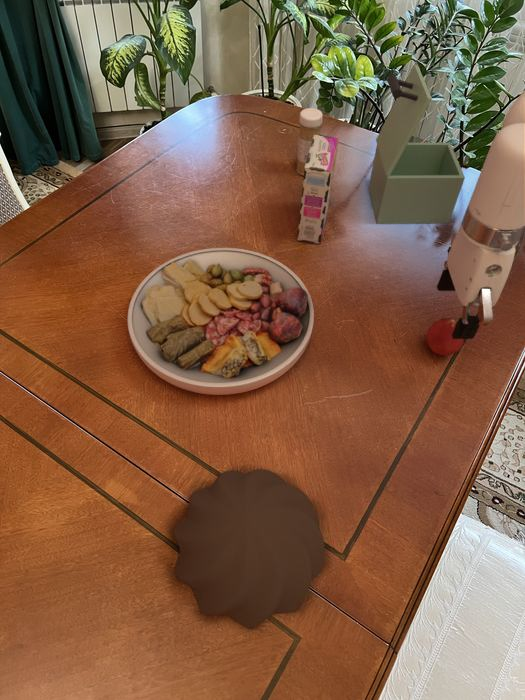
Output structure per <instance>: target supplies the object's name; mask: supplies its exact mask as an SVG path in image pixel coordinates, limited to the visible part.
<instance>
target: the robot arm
mask: <svg viewBox="0 0 525 700" xmlns="http://www.w3.org/2000/svg"><path fill="white" fill-rule="evenodd" d="M524 231H525V89H524V90H523V91H522V92H521V93H520V95H519V96H518V97H517V98H516V100H515V101H514V102H513V103H512V104H511V106H510V108H509V109H508V111H507V113H506V114H505V116H504V118H503V121H502V124H501V129H500V130H499V131H498V132H497V133H496V135H495V136H494V138H493V140H492V142H491V144H490V147H489V150H488V152H487V155H486V157H485V160H484V163H483V166H482V168H481V170H480V174H479V176H478V178H477V181H476V183H475V186H474V189H473V191H472V194H471V197H470V200H469V202H468V205H467V208H466V210H465V213H464V215H463V217H462V220H461V223H460V226H459V228H458V230H457V232H452V233H451V237H450V243H449V244H450V246H449V247H448V249H447V250H446V251H447V259H446V260H445V261H444V262H443V269H442V271H441V275H440V276H439V280H438V283H437V285H436V289H437V291H439V292H455V293H456V296H457V298H458V301H459V303H460V304H461V305H462V317H459V318H458V320H457V324H456V326H455V329H454V331H453V333H452V338H453V339H464V340H472V339H474V338H475V336H476V335H477V332H478V331H479V329H480V327H481V326H487V325H489V324H490V323H492V322H493V320H494V312H493V307H494V306H496V304H497V303H498V301H499V299H500V297H501V294H502V292H503V290H504V287H505V285H506V283H507V280H508V278H509V276H510V272H511V270H512V266H513V263H514V260H515V255H516V246H517V245H518V244H519V242H520V240H521V238H522V236H523V233H524ZM476 299H478V300H476ZM471 307H478V308H477V309H478V310H477V311H478V312H477V315H476V314H475V315H471Z"/></svg>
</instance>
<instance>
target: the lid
mask: <svg viewBox="0 0 525 700" xmlns="http://www.w3.org/2000/svg"><path fill="white" fill-rule="evenodd" d="M387 83H388V87H389V88H390V93H391V95H392V98H394V99H395V101H394V103H393V105H392V107H391V109H390V111H389V113H388V115H387V117H386V119H385V121H384V123H383V125H382V127H381V129H380V131H379V133H378V135H377V137H376V139H375V142H376V146H377V145H378V149H379V153H380V156H381V160H382V163H383V167H384V171H385V174H386V175H387V176H390V174H391V173H392V171H393V169H394V167H395V165H396V163H397V162H398V160H399V158H400V156H401V154H402V153H403V151H404V149H405V147H406V145H407V144H408V143H410V142H409V141H410V140H411V138H412V136H413V134H414V133H415V131H416V129H417V127H418V125H419V123H420V122H421V120H422V118H423V116H424V115H425V113H426V111H427V109H428V107H429V105H430V104H431V102H432V100H433V98H432V95H431V93H430V90H429V88H428V86H427V83H426V81H425V79H424V76H423V74H422V72H421V69H420V67H419V65H418V64H416V63H413V66H412V67H411V69H410V71H409V73H408V75H407V77H406V79H405V80H401V79H398V76H397V75H396V74H390V75H389V76H388V78H387Z"/></svg>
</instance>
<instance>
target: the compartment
mask: <svg viewBox="0 0 525 700" xmlns="http://www.w3.org/2000/svg"><path fill="white" fill-rule="evenodd" d="M458 160H459V159H458V157H457V155H456V153H455V151H454V148H453V146H452V144H451V142H408V144H407V145H406V147H405V149H404V151H403V153H402V154H401V156H400V158H399V160H398V162H397V163H396V165H395V167H394V169H393V171H392V173H391V174H390V176H387V175H386V174H385V171H384V167H383V163H382V160H381V156H380V153H379V149H378V145H377V144H376V148H375V152H374V156H373V161H372V166H371V167H372V168H371V172H370V178H369V182H368V186H367V187H368V194H369V198H370V202H371V206H372V211H373V215H374V218H375V223H376V225H411V224H412V225H418V224H419V225H425V224H428V225H429V224H430V225H431V224H432V225H433V224H437V223H438V224H439V223H441V225H444V224H445V225H446V224H450V222H451V219H452V215H453V214H454V210H455V207H456V205H457V201H458V199H459V196H460V193H461V190H462V187H463V184H464V181H465V179H466V177H465V175H464V172H463V170H462V168H461V165H460V162H459V161H458Z"/></svg>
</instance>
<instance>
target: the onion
mask: <svg viewBox="0 0 525 700" xmlns="http://www.w3.org/2000/svg"><path fill="white" fill-rule="evenodd" d="M457 322H458V320H456V319H454V318H451V317H443V318H440V319H438V320H435V321H433V323H432V324H430V326H429V327H428V329H427V331H426V336H425V340H426V344H427V346H428V347H429V349H430V350H431V352H433V353H434V354H437V355H440V356H449V355H453V354H456V353H457V352H458V351H459V350H460V349H461V348H463V345H464V340H465V339H453V338H452V333H453V331H454V329H455V326H456V324H457Z"/></svg>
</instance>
